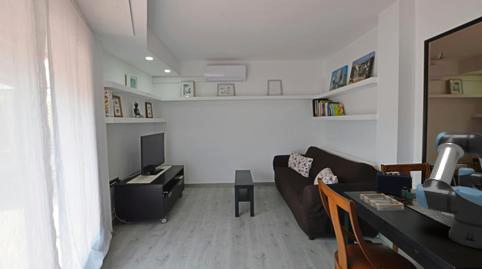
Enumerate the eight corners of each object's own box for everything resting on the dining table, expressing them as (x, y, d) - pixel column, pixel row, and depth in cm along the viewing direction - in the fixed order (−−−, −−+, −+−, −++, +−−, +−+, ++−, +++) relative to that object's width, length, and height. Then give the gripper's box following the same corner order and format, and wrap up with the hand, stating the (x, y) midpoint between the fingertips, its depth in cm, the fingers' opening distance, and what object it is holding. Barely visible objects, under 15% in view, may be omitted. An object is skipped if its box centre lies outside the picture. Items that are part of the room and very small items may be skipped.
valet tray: (403, 210, 151) (403, 204, 151) (378, 211, 151) (378, 205, 151) (382, 198, 173) (382, 193, 173) (360, 199, 173) (360, 194, 173)
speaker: (409, 192, 185) (409, 172, 184) (412, 197, 174) (412, 176, 173) (376, 189, 195) (376, 170, 194) (376, 194, 184) (376, 174, 183)
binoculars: (391, 187, 166) (406, 185, 166) (392, 202, 167) (407, 200, 167) (399, 191, 157) (415, 189, 157) (400, 207, 158) (416, 205, 158)
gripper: (468, 204, 150) (433, 206, 150) (435, 192, 175) (405, 193, 175) (468, 192, 150) (433, 193, 149) (435, 182, 175) (405, 183, 174)
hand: (418, 193), depth 162 cm, fingers open, 13 cm apart
